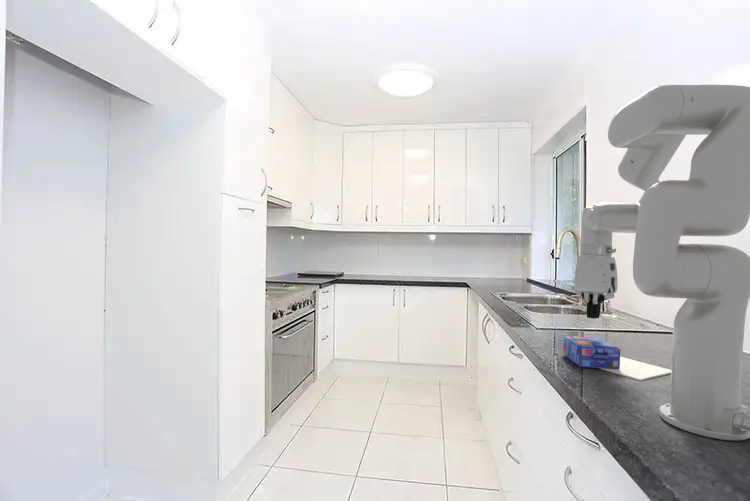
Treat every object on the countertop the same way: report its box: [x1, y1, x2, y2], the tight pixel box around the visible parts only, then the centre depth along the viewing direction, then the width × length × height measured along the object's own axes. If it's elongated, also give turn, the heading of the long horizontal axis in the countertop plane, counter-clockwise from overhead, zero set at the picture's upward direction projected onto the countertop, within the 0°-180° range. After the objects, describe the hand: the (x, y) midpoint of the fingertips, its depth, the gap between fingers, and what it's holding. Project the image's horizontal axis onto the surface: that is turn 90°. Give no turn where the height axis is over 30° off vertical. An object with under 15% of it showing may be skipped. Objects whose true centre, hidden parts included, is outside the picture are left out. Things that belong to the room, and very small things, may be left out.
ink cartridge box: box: [562, 335, 621, 369], centre depth 106 cm, size 10×6×14 cm
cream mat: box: [598, 356, 671, 382], centre depth 104 cm, size 16×15×1 cm
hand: (593, 317), depth 112 cm, fingers closed
